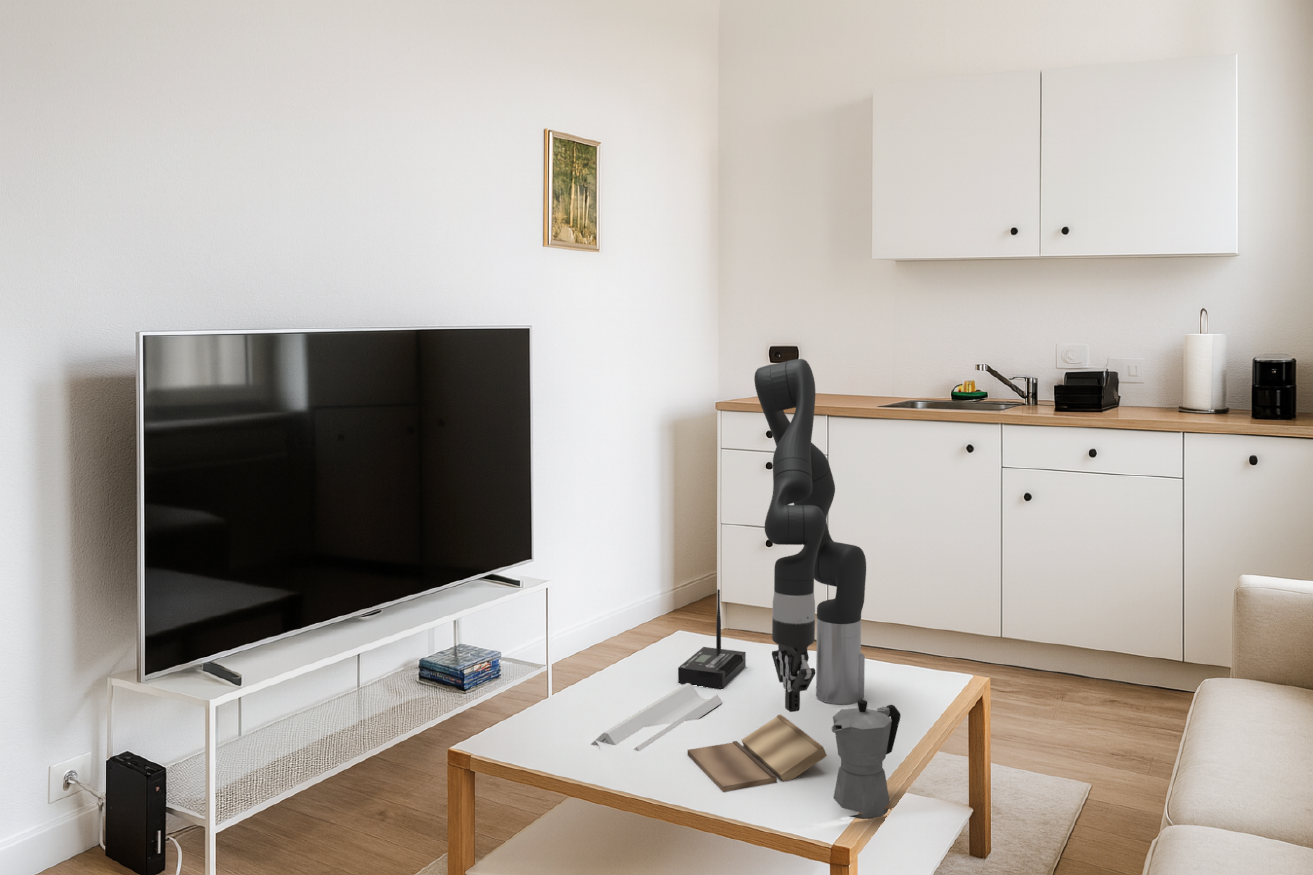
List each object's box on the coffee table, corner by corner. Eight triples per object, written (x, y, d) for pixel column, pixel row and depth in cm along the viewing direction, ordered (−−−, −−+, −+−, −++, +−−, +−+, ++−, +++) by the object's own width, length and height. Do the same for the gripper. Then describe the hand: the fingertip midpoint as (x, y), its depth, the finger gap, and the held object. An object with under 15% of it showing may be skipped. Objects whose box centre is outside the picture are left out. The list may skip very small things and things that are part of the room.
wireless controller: (730, 691, 220) (730, 614, 219) (670, 683, 226) (670, 608, 224) (758, 663, 239) (758, 592, 237) (702, 656, 244) (702, 587, 242)
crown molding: (642, 760, 187) (642, 741, 186) (589, 747, 193) (588, 729, 192) (722, 706, 213) (722, 689, 213) (673, 696, 219) (672, 679, 219)
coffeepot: (854, 829, 159) (855, 718, 157) (811, 806, 167) (812, 700, 165) (919, 802, 168) (921, 696, 166) (876, 781, 175) (878, 681, 174)
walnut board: (737, 751, 188) (737, 740, 188) (776, 788, 173) (776, 775, 173) (687, 760, 185) (687, 748, 185) (723, 797, 170) (723, 785, 170)
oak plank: (745, 748, 189) (740, 739, 188) (784, 722, 191) (780, 713, 191) (785, 784, 174) (780, 774, 173) (827, 755, 176) (822, 745, 176)
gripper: (830, 623, 176) (828, 720, 177) (795, 604, 188) (794, 695, 190) (791, 627, 173) (790, 725, 175) (758, 608, 186) (757, 700, 187)
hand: (792, 709), depth 182 cm, fingers closed
